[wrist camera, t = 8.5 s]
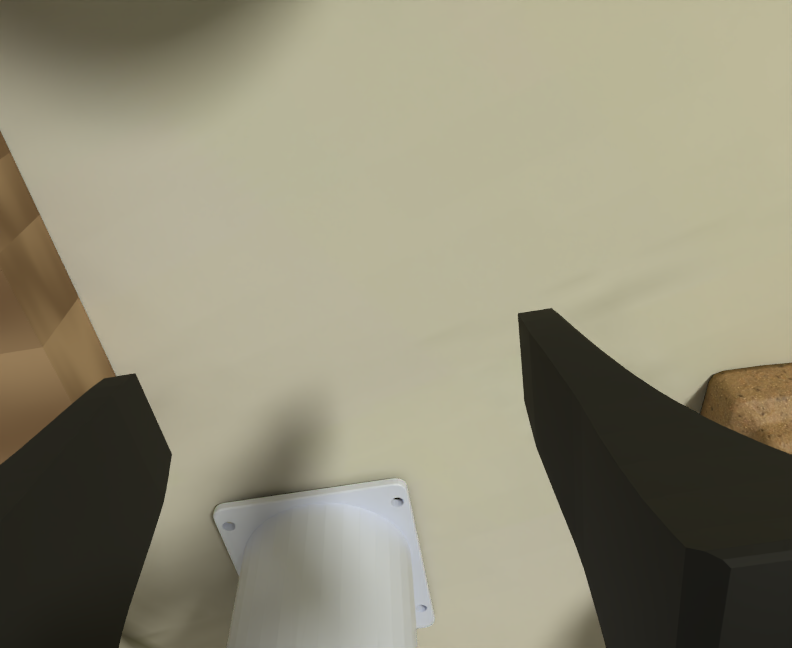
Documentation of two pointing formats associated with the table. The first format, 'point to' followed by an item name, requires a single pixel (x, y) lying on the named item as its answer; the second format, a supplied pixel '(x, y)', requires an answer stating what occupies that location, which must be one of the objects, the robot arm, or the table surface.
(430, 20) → the table surface
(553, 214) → the table surface
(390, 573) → the robot arm
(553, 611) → the table surface
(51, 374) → the brown slotted holder
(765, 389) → the candle holder
